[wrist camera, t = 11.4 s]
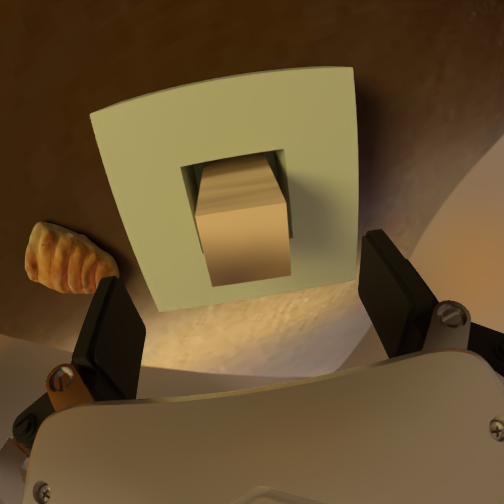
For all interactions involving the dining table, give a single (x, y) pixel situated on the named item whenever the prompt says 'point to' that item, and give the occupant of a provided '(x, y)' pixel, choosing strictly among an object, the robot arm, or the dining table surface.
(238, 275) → the birch block
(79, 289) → the pastry
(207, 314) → the dining table surface
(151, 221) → the well block
